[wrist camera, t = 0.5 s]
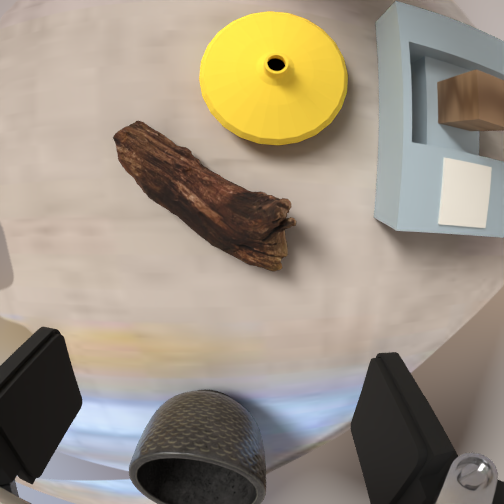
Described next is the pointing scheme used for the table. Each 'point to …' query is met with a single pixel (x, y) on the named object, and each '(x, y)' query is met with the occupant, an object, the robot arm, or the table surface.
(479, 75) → the walnut block
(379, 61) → the slot box
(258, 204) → the driftwood
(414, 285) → the table surface
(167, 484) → the planter
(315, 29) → the yellow piece
